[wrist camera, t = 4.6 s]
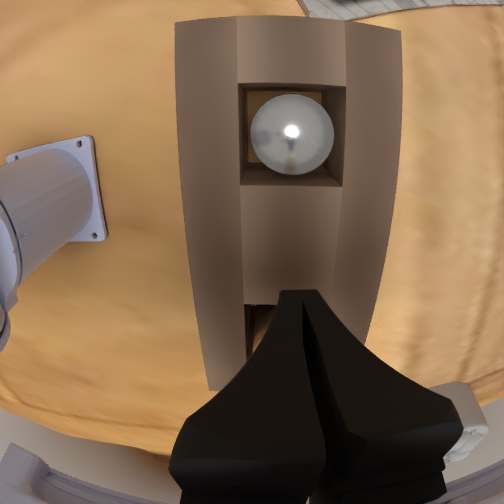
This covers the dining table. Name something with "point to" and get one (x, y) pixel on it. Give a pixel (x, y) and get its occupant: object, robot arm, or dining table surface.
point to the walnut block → (283, 185)
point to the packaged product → (375, 7)
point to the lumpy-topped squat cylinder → (464, 418)
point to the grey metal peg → (292, 134)
